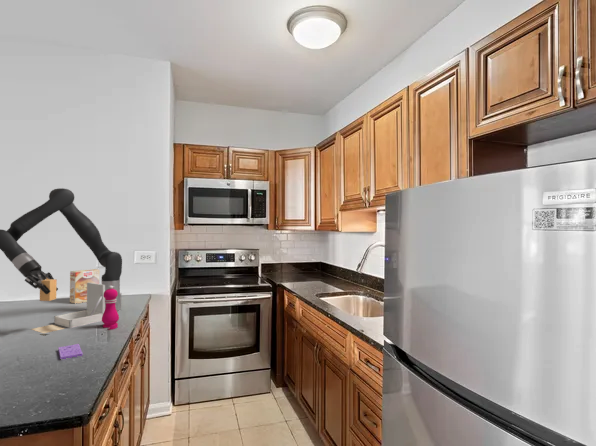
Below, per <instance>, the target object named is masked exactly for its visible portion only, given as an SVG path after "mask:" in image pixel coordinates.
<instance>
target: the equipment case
mask: <svg viewBox="0 0 596 446" xmlns="http://www.w3.org/2000/svg"><path fill="white" fill-rule="evenodd" d="M104 292H105V285H102V283H99V284H96V283H87V302H86V310H85V309H84V310H80V311H75V312H70V313H69V312H68V313H65V314H58V315H55V316H54V317H53V318H54V323H53V325H56V326H60V327H63V328H68V329H73V328H76V327H82V326H85V325H89V324H93V323H94V324H95V323H99V322H102V316H103V313H104V311H105V298H104Z"/></svg>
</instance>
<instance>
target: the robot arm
mask: <svg viewBox="0 0 596 446" xmlns="http://www.w3.org/2000/svg"><path fill="white" fill-rule="evenodd" d="M74 202H75V194H74V192H72V190H71V189H68V188H63V187H62V188H59V187H58V188H54V189H52V190H51V191H50V193H49V194H48V200H47V201H45V202H44V203H42V204H41V205H40V206H37V207H35V208H33V209H31V210H30V211H28V212H25V213H24V214H23V215H21V216H20V217H18V218H16V219H15V220H14V221H13V222H11V223H10V226H9V228H8V229H7V230H6V229H0V251H1V252H2V253H3V254H4V255H5V257H6V258H7V260H9V261H10V262H11V264H12V265H13V266H14V267H15V268H16V270H18V272H19V273H20V274H21V275H22V276H23V277H24V278H25V279H24V282H26V283H27V284H28V285H30V286H31V287H33V288H34V289H39V290H40V289H41V290H42V291H43V292H44V293H45V294H48V293H49V292H50V290H49V289H48V288H47V287H46V286H45V285H44V283H43V282H42V281H43V280H46V279H55V278H54V277H53V275H52V274H51V272H48V271H47V273H45V271H43V270H42V269H43V268H42V266H41V264H40V263H39V262H38V261H37V260H36V259H35V258H34V257H33V256H32V255H31V254H30V253H28V252H27V250H25V248H23V247H22V246H21V245H20V244H19V243H18V241H19V240H20V239H21V238H22V237H23V235H25V234H26V233H28V232H29V231H30V230H31V229H33V228H35V226H37V225H39V224H40V223H42V222H43V221H44V220H45V219H48V218H49V217H50V216H52V215H54V214H55V213H56V212H57V213H58V212H60V213H61V214H62V215H63V216H64V218H66V220H67V222H68V223H69V225H70V226H71V227H72V229H73V230H74V231H75V233H76V234H77V235H78V236H79V238H80V239H81V240H82V241H83V242H84V244H85V245H86V246H87V247H88V248H89V249H90V250H91V252H92V253H93V255H94V256H95V258H96V260H97V261H98V262H99V264H100V265H101V266H102V267H103V268H105V269H104V273H103V274H102V275H101V284H102V285H105V291H106V290H107V289H109V286H113V288H112V289H115V290H116V291H117V292H118V296H117V297H116V299H117V300H116V303H115V307H116V310H117V312H119V311H120V310H122V292H120V291H121V290H120V289H121V287H120V286H121V275H122V272H123V271H122V270H123V258H122V255H121V254H120V253H119V252H117V251H111V250H110V249H109V248H108V247H107V246H106V244H105V243H104V242H103V239H102V236H101V233H100V231H99V229H98V228H97V226H96V225H95V224H94V222H93V221H92V220H91V219H90V218H89V217H88V216H87V215H86V214H85V213H83V212H82V211H81V210H79V209H78V207H77V206H76V205H75V203H74ZM58 290H59V288H58V287H56V292H57V291H58ZM105 307H106V303H105Z"/></svg>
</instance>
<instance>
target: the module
mask: <svg viewBox="0 0 596 446" xmlns="http://www.w3.org/2000/svg"><path fill="white" fill-rule="evenodd" d="M42 282H43V283H44V285H45V286H46V287H47V288H48V289H49V290H50V292H49V293H48V294H45V293H44V292H43V291H42V290H41V289H39V301H41V302H42V301H43V302H50V301H53V300H56V299H57V291H56V287H57V284H58V283H57V279H55V278H54V279H45V280H43V281H42ZM57 288H58V287H57Z"/></svg>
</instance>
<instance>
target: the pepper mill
mask: <svg viewBox="0 0 596 446" xmlns="http://www.w3.org/2000/svg"><path fill="white" fill-rule="evenodd" d="M112 288H113V286H109V289H107V290H106V291H105V292H104V298H105V303H106V307H105V311H104V313H103V316H102V321H101V322H102V323H103V324H102V328H104V329H106V330H110V331H111V330H115V329H116V330H117V328H118V326H119V325H118V324H119V323H118V321H119V318H120V317H119V313H118V311H117V310H116V307H115V303H116V300H117V299H116V297H117V296H118V292H117V291H116V290H115V289H112Z"/></svg>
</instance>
